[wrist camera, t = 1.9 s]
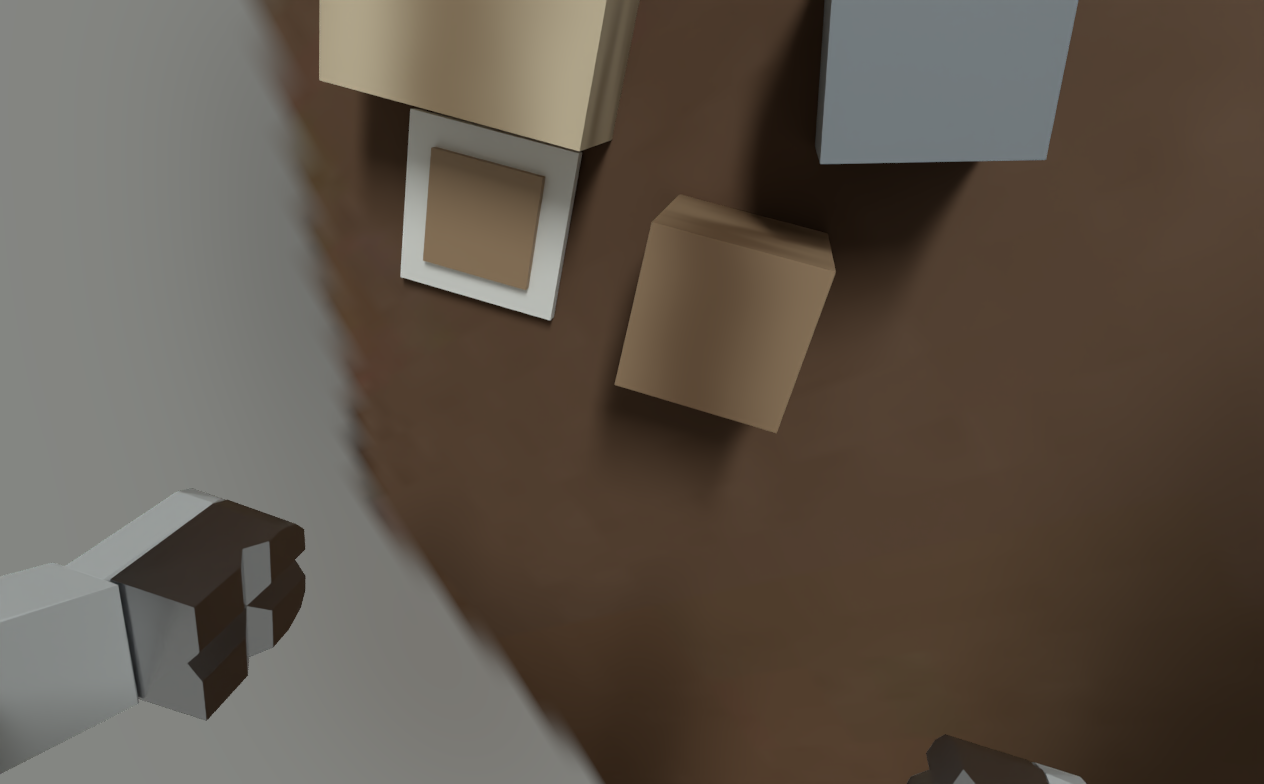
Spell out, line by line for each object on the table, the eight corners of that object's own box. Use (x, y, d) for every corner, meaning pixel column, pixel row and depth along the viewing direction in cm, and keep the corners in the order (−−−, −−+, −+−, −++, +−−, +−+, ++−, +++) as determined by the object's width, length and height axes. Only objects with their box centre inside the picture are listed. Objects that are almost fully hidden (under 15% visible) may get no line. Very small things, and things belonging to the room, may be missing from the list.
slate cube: (1024, -60, 18) (1099, -106, 13) (989, 141, 20) (1046, 159, 15) (827, -44, 19) (837, -81, 14) (814, 146, 21) (820, 164, 16)
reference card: (582, 152, 22) (576, 154, 22) (553, 317, 25) (547, 323, 24) (416, 108, 23) (405, 109, 22) (405, 273, 26) (396, 278, 25)
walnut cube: (827, 232, 22) (836, 272, 17) (780, 368, 24) (776, 433, 20) (680, 193, 22) (651, 221, 18) (646, 330, 25) (614, 385, 20)
